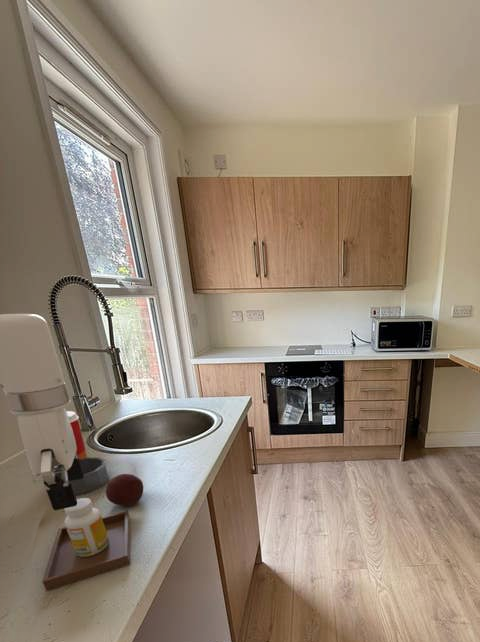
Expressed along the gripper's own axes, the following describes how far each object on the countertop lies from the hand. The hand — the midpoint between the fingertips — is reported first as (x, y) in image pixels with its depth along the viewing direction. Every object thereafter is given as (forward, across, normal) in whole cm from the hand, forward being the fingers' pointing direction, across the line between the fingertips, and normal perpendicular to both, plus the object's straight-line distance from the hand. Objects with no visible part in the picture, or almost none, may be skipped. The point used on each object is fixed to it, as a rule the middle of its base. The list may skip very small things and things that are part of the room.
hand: (70, 492), depth 60 cm
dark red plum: (+13, -15, +6) cm, 20 cm away
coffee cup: (+13, -42, -7) cm, 44 cm away
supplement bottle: (+12, 0, +1) cm, 12 cm away
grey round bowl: (+13, -30, -4) cm, 33 cm away
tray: (+13, 0, +1) cm, 13 cm away
